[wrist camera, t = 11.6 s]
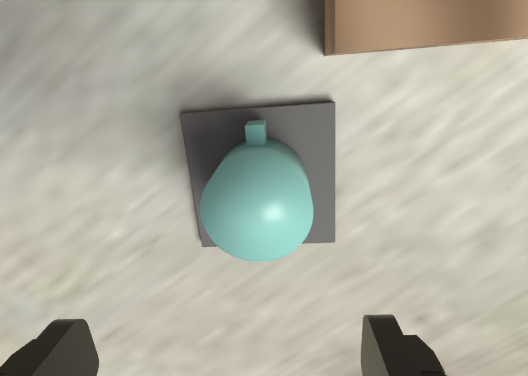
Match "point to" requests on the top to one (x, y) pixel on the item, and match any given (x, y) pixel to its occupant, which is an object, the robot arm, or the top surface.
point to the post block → (419, 23)
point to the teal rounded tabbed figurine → (258, 199)
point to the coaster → (278, 128)
